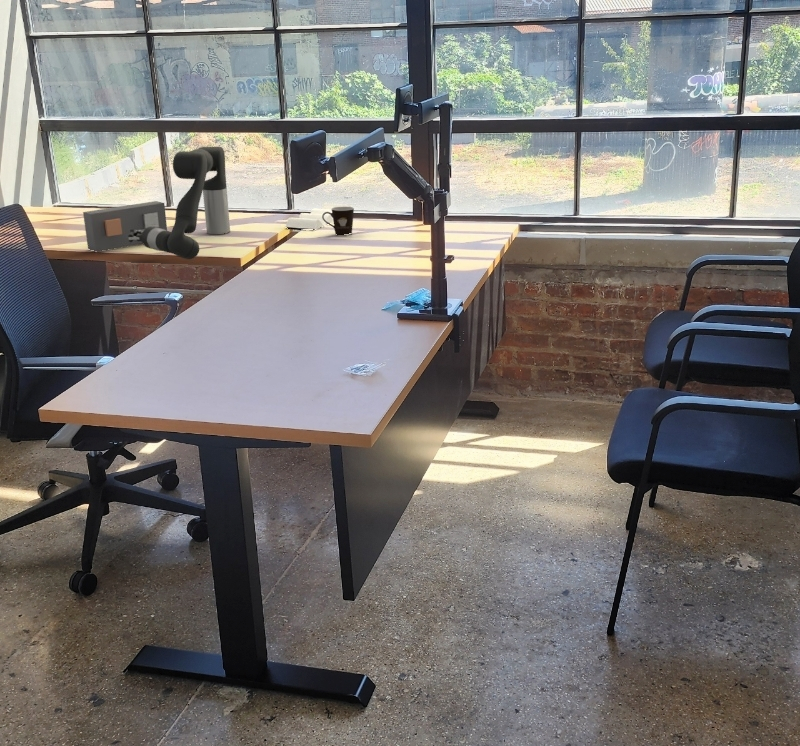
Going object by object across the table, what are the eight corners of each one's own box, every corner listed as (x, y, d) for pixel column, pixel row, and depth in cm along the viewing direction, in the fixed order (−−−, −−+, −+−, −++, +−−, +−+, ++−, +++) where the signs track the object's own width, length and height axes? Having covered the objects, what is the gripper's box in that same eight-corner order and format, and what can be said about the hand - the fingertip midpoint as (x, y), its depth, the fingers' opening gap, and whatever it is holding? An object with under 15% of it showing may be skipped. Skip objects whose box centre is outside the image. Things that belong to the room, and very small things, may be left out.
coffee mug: (358, 232, 360) (357, 207, 356) (348, 237, 353) (347, 211, 349) (332, 230, 364) (331, 205, 361) (321, 234, 357) (320, 209, 354)
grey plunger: (132, 225, 352) (130, 211, 350) (145, 223, 355) (143, 209, 353) (145, 229, 345) (144, 214, 343) (158, 226, 349) (157, 212, 347)
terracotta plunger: (95, 232, 340) (93, 217, 338) (109, 230, 344) (107, 215, 342) (108, 236, 334) (106, 221, 332) (122, 234, 337) (120, 218, 335)
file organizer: (284, 230, 369) (283, 217, 367) (323, 214, 399) (323, 203, 397) (313, 232, 364) (312, 219, 362) (350, 216, 395) (350, 204, 393)
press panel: (88, 249, 339) (83, 212, 334) (160, 236, 358) (156, 201, 353) (95, 252, 335) (90, 214, 330) (168, 239, 354) (164, 202, 349)
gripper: (173, 225, 317) (147, 219, 329) (138, 231, 308) (113, 224, 320) (175, 246, 320) (150, 239, 331) (141, 253, 311) (116, 245, 323)
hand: (132, 232), depth 326 cm, fingers closed
